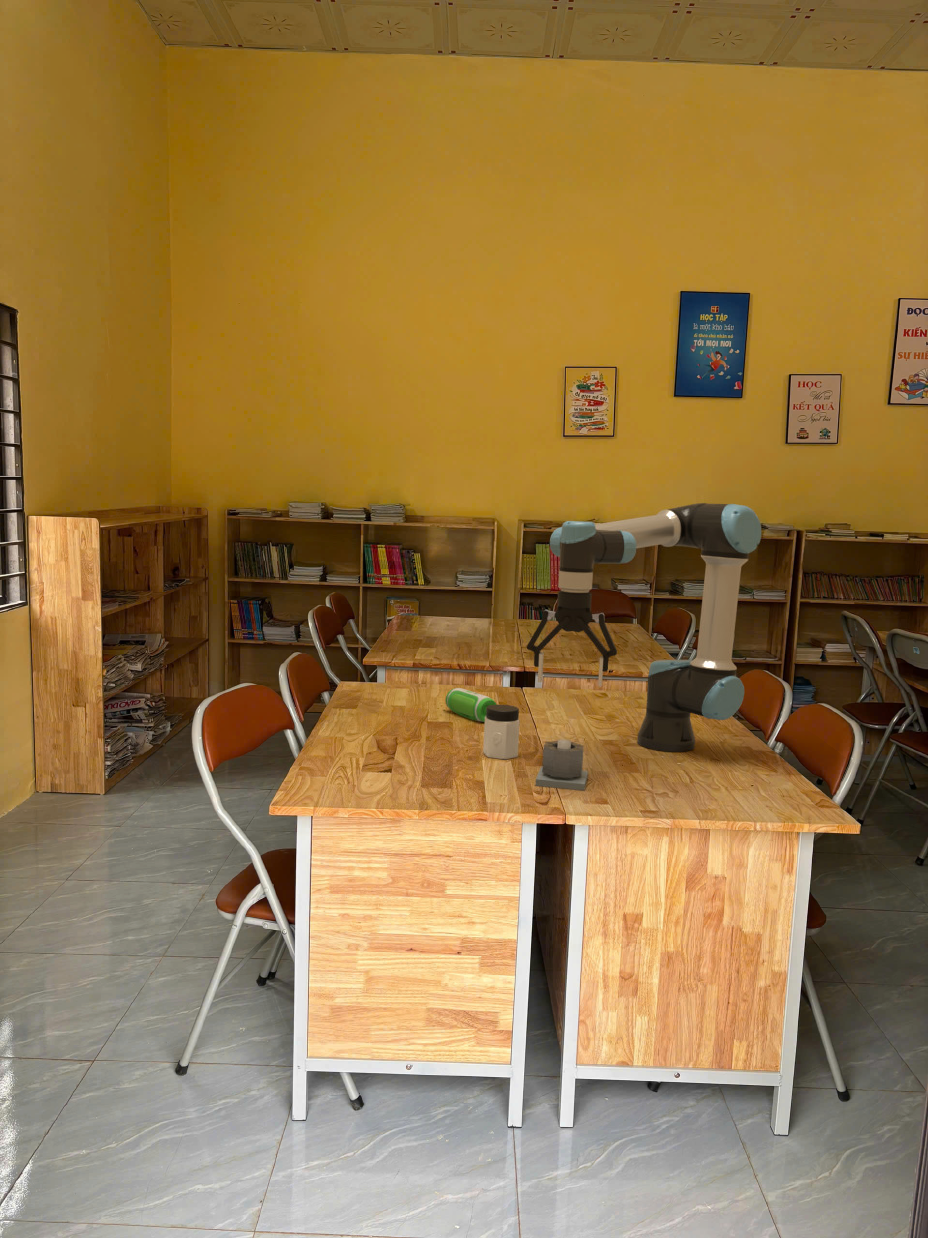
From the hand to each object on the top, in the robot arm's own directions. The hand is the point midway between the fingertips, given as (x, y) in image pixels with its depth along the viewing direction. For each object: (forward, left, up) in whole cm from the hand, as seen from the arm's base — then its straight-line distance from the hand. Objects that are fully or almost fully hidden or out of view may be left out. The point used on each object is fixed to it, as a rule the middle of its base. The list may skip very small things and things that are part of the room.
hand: (569, 683), depth 223 cm
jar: (+17, -17, -23) cm, 33 cm away
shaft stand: (0, +1, -23) cm, 23 cm away
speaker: (+32, -56, -23) cm, 68 cm away
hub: (0, +1, -20) cm, 20 cm away
